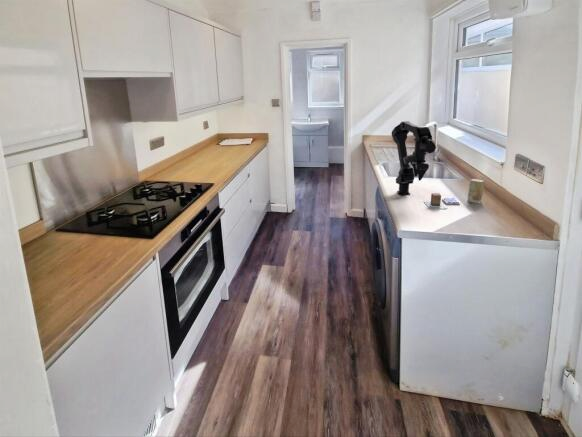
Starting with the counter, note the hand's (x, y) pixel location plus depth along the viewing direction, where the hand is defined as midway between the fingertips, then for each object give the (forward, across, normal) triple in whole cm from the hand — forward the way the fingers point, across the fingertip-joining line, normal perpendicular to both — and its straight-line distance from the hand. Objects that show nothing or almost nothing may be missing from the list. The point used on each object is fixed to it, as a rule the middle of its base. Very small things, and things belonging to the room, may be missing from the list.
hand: (417, 178), depth 229 cm
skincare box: (+13, +3, +31) cm, 34 cm away
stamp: (+12, +10, +8) cm, 18 cm away
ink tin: (+12, +4, +18) cm, 22 cm away
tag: (+12, +10, +8) cm, 18 cm away
